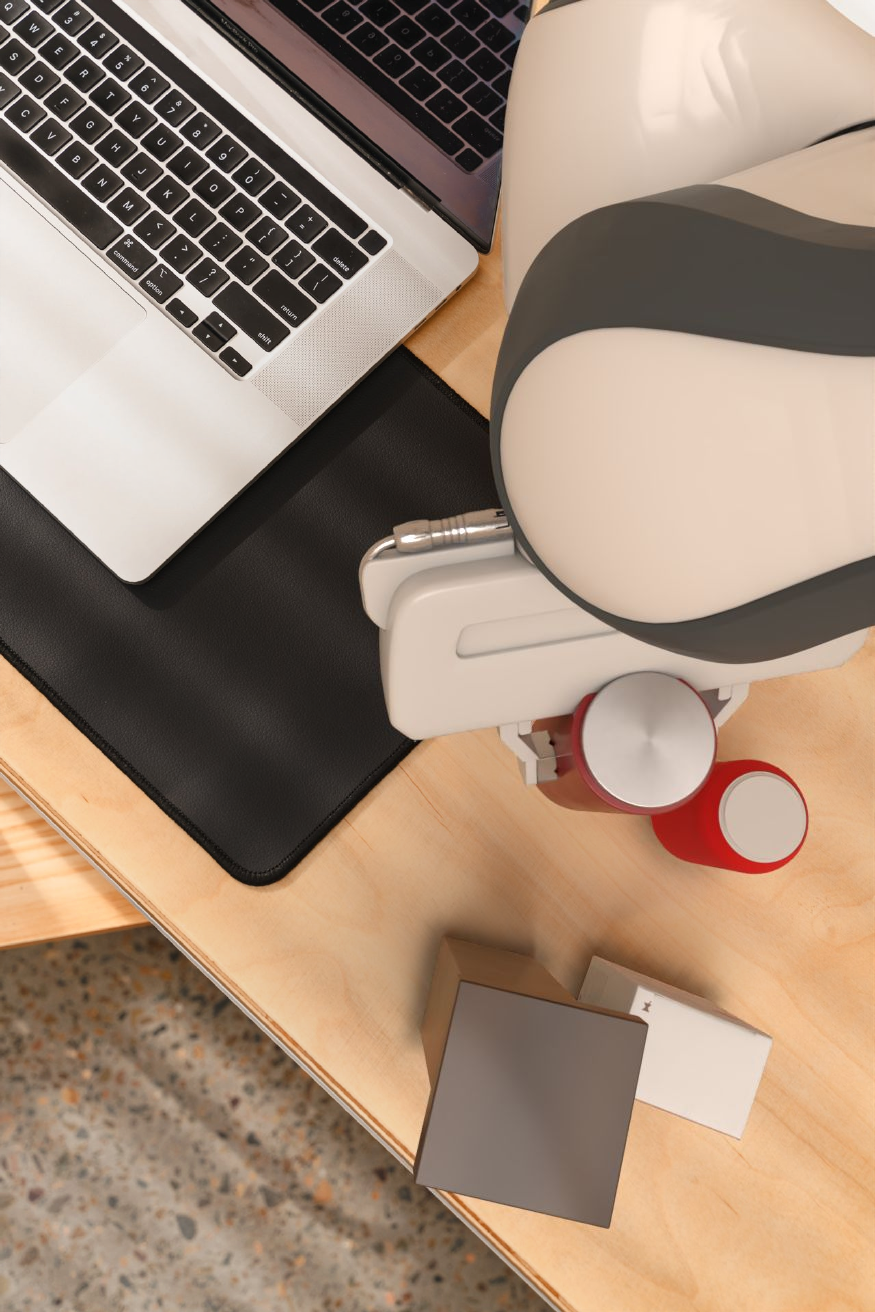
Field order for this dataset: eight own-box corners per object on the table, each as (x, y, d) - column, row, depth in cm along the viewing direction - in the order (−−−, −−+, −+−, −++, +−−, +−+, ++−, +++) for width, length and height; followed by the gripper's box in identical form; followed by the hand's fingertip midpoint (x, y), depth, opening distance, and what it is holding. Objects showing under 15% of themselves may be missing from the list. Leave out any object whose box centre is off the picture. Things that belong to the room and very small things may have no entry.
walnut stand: (553, 945, 62) (649, 1024, 40) (526, 1075, 60) (609, 1230, 39) (430, 916, 61) (459, 979, 40) (400, 1046, 60) (413, 1185, 38)
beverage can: (671, 878, 63) (739, 896, 51) (629, 789, 63) (687, 786, 51) (754, 838, 63) (841, 847, 51) (712, 750, 64) (788, 739, 52)
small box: (561, 1038, 61) (599, 1088, 50) (592, 952, 62) (635, 983, 51) (680, 1086, 61) (743, 1145, 50) (709, 999, 62) (777, 1039, 51)
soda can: (648, 711, 52) (735, 684, 39) (625, 823, 51) (708, 831, 38) (539, 684, 52) (592, 648, 39) (514, 796, 51) (560, 795, 38)
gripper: (361, 577, 33) (401, 853, 41) (931, 487, 35) (859, 769, 43) (343, 492, 38) (383, 753, 46) (843, 417, 40) (793, 681, 48)
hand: (616, 760), depth 45 cm, fingers closed on soda can, 6 cm apart
